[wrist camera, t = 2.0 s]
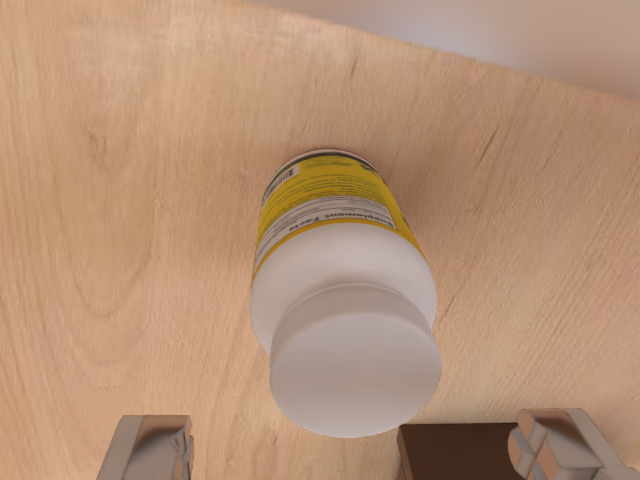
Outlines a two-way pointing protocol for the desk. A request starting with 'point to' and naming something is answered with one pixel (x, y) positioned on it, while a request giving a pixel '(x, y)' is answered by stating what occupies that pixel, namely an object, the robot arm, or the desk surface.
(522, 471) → the robot arm
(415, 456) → the shelf
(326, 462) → the desk surface
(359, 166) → the pill bottle
